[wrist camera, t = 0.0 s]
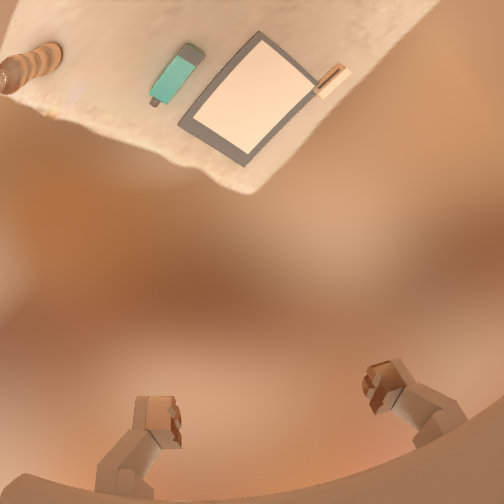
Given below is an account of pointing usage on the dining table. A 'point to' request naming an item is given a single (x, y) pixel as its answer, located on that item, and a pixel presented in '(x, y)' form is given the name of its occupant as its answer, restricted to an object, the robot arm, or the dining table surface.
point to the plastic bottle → (28, 67)
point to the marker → (175, 74)
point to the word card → (331, 80)
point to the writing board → (249, 100)
